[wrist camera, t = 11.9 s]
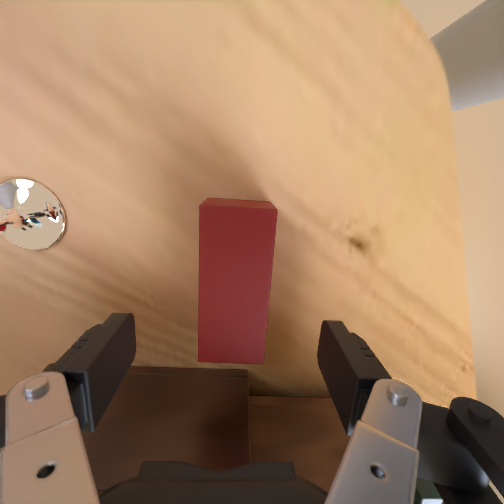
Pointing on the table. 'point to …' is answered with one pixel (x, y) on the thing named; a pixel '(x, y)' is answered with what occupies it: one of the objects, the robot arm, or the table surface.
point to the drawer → (308, 440)
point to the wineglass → (30, 214)
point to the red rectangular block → (234, 279)
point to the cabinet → (171, 422)
